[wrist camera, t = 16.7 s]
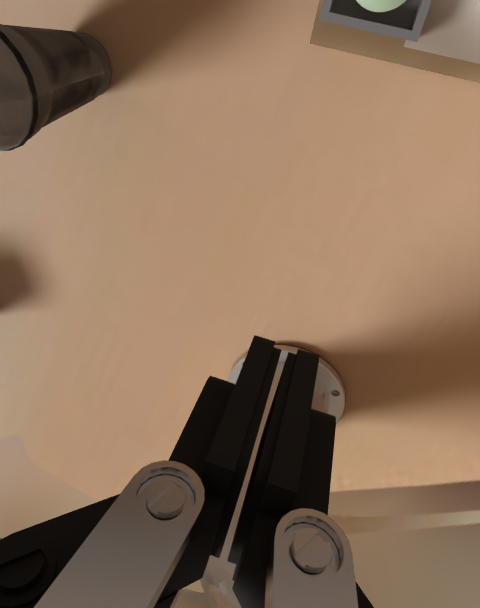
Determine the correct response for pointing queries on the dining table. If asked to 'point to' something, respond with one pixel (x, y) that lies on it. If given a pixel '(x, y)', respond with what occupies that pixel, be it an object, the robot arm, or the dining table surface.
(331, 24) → the clipboard
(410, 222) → the dining table surface
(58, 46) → the beverage cup
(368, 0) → the button
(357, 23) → the button housing
